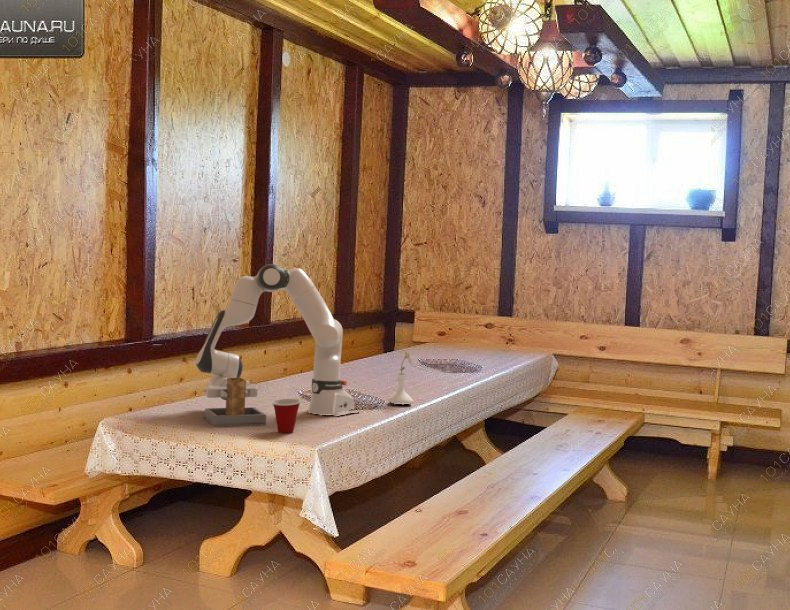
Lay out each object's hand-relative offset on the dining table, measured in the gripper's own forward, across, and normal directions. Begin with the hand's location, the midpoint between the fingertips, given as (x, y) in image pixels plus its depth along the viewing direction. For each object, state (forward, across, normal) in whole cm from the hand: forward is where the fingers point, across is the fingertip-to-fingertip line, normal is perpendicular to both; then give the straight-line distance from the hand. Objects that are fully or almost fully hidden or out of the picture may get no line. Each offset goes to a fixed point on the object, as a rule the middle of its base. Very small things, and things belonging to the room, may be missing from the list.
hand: (236, 395), depth 403 cm
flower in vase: (-28, +83, +11) cm, 88 cm away
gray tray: (-1, 0, +11) cm, 11 cm away
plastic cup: (+21, +13, +11) cm, 27 cm away
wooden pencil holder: (-1, 0, +8) cm, 8 cm away
